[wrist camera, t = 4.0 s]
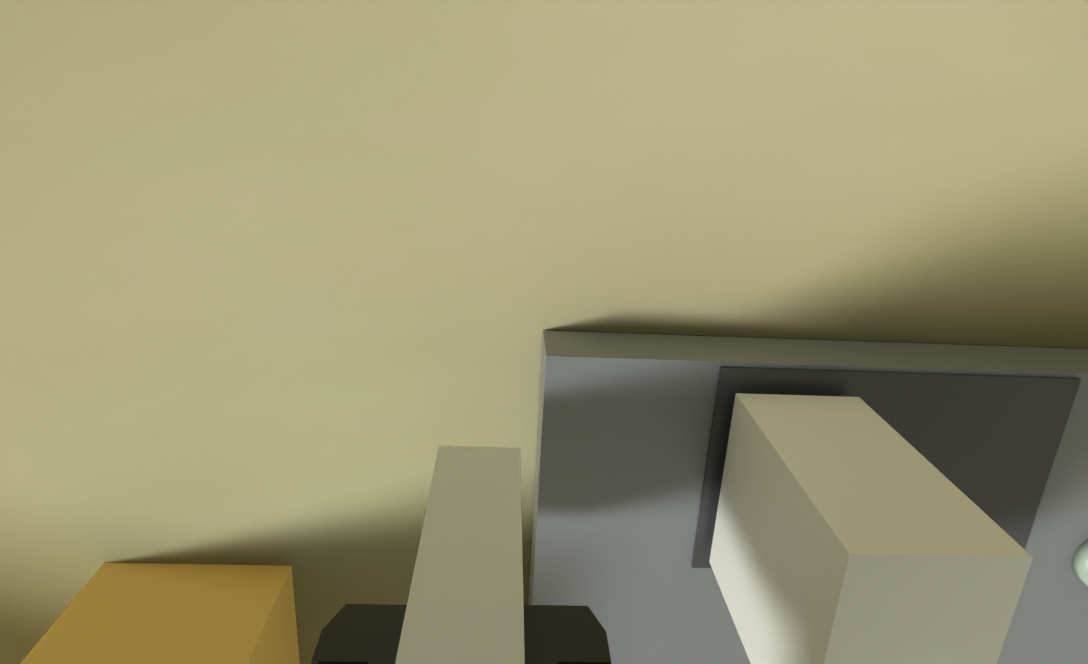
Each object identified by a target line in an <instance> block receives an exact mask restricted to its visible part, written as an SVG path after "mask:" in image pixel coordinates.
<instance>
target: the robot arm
mask: <svg viewBox="0 0 1088 664" xmlns="http://www.w3.org/2000/svg"><path fill="white" fill-rule="evenodd" d="M312 664H611V657H610V651H609V645H608V639H607V633H606V631H605V629H604V628H603V627H602V625H601V624H600V622H599V621H598V619H597V618H596V617H595V615H594V614H593V612H592V611H591V610H590V608H589V607H588V606H567V605H523V556H522V507H521V458H520V448H497V447H463V446H439V448H438V453H437V458H436V463H435V468H434V473H433V478H432V483H431V488H430V493H429V498H428V503H427V508H426V513H425V518H424V523H423V528H422V533H421V538H420V543H419V547H418V552H417V557H416V562H415V567H414V572H413V577H412V582H411V587H410V592H409V597H408V602H407V605H367V604H346V605H345V606H344V607H343V608H342V609H341V610H340V611H339V612H338V614H337V615H336V616H335V617H334V618H333V619H332V620H331V621H330V622H329V623H328V625H327V626H326V627H325V628H324V629H323V630H322V633H321V636H320V638H319V641H318V644H317V647H316V650H315V653H314V656H313V659H312Z"/></svg>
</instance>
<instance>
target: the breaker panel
mask: <svg viewBox="0 0 1088 664" xmlns="http://www.w3.org/2000/svg"><path fill="white" fill-rule="evenodd" d="M736 393H744V394H777V395H811V396H845V397H860V398H861V399H862V400H863V401H864V402H865V403H866V404H867V405H868V406H869V407H870V408H872V409H873V410H874V411H875V412H876V413H877V414H878V415H879V416H880V417H881V418H882V419H883V420H885V421H886V422H887V423H888V424H889V425H890V426H891V427H892V428H893V429H894V430H895V431H896V432H898V433H899V434H900V435H901V436H902V437H903V438H904V439H905V440H906V441H907V442H908V443H909V444H911V445H912V446H913V447H914V448H915V449H916V450H917V451H918V452H919V453H920V454H921V455H923V456H924V457H925V458H926V459H927V460H928V461H929V462H930V463H931V464H932V465H933V466H934V467H936V468H937V469H938V470H939V471H940V472H941V473H942V474H943V475H944V476H945V477H946V478H947V479H949V480H950V481H951V482H952V483H953V484H954V485H955V486H956V487H957V488H958V489H959V490H961V491H962V492H963V493H964V494H965V495H966V496H967V497H968V498H969V499H970V500H971V501H972V502H974V503H975V504H976V505H977V506H978V507H979V508H980V509H981V510H982V511H983V512H984V513H985V514H987V515H988V516H989V517H990V518H991V519H992V520H993V521H994V522H995V523H996V524H997V525H998V526H1000V527H1001V528H1002V529H1003V530H1004V531H1005V532H1006V533H1007V534H1008V535H1009V536H1010V537H1012V538H1013V539H1014V540H1015V541H1016V542H1017V543H1018V544H1019V545H1020V546H1021V547H1022V548H1023V549H1025V550H1026V551H1027V552H1028V553H1029V554H1030V555H1031V556H1032V557H1033V559H1032V562H1031V565H1030V568H1029V571H1028V574H1027V577H1026V580H1025V582H1024V585H1023V588H1022V591H1021V594H1020V597H1019V600H1018V603H1017V606H1016V609H1015V612H1014V615H1013V618H1012V620H1011V623H1010V626H1009V629H1008V632H1007V635H1006V638H1005V641H1004V644H1003V647H1002V650H1001V653H1000V656H999V658H998V661H997V664H1088V349H1070V348H1041V347H1012V346H983V345H954V344H924V343H895V342H866V341H837V340H808V339H779V338H750V337H720V336H691V335H662V334H633V333H604V332H575V331H546V330H543V343H542V361H541V379H540V398H539V416H538V435H537V453H536V472H535V490H534V508H533V527H532V545H531V564H530V582H529V600H528V605H567V606H588V607H589V608H590V610H591V611H592V612H593V614H594V615H595V617H596V618H597V619H598V621H599V622H600V624H601V625H602V627H603V628H604V629H605V631H606V633H607V639H608V645H609V651H610V657H611V664H751V663H750V661H749V658H748V656H747V653H746V651H745V649H744V646H743V644H742V641H741V639H740V636H739V634H738V631H737V629H736V626H735V624H734V621H733V619H732V617H731V614H730V612H729V609H728V607H727V604H726V602H725V599H724V597H723V594H722V592H721V590H720V587H719V585H718V582H717V580H716V577H715V575H714V572H713V570H712V567H711V565H710V562H709V560H710V554H711V547H712V541H713V534H714V528H715V522H716V515H717V509H718V503H719V496H720V490H721V483H722V477H723V471H724V464H725V458H726V452H727V445H728V439H729V432H730V426H731V420H732V413H733V407H734V401H735V394H736Z"/></svg>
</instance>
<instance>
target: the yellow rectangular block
mask: <svg viewBox="0 0 1088 664" xmlns="http://www.w3.org/2000/svg"><path fill="white" fill-rule="evenodd" d="M20 664H300V659H299V647H298V635H297V623H296V611H295V599H294V587H293V575H292V565H227V564H160V563H104V564H103V565H102V566H101V568H100V569H99V570H98V571H97V572H96V574H95V575H94V576H93V577H92V578H91V579H90V581H89V582H88V583H87V584H86V585H85V587H84V588H83V589H82V590H81V591H80V593H79V594H78V595H77V596H76V597H75V598H74V600H73V601H72V602H71V603H70V604H69V606H68V607H67V608H66V609H65V610H64V612H63V613H62V614H61V615H60V616H59V618H58V619H57V620H56V621H55V622H54V623H53V625H52V626H51V627H50V628H49V629H48V631H47V632H46V633H45V634H44V635H43V637H42V638H41V639H40V640H39V641H38V643H37V644H36V645H35V646H34V647H33V648H32V650H31V651H30V652H29V653H28V654H27V656H26V657H25V658H24V659H23V660H22V662H21V663H20Z"/></svg>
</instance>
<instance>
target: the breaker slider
mask: <svg viewBox="0 0 1088 664" xmlns="http://www.w3.org/2000/svg"><path fill="white" fill-rule="evenodd" d="M1032 559H1033V557H1032V556H1031V555H1030V554H1029V553H1028V552H1027V551H1026V550H1025V549H1023V548H1022V547H1021V546H1020V545H1019V544H1018V543H1017V542H1016V541H1015V540H1014V539H1013V538H1012V537H1010V536H1009V535H1008V534H1007V533H1006V532H1005V531H1004V530H1003V529H1002V528H1001V527H1000V526H998V525H997V524H996V523H995V522H994V521H993V520H992V519H991V518H990V517H989V516H988V515H987V514H985V513H984V512H983V511H982V510H981V509H980V508H979V507H978V506H977V505H976V504H975V503H974V502H972V501H971V500H970V499H969V498H968V497H967V496H966V495H965V494H964V493H963V492H962V491H961V490H959V489H958V488H957V487H956V486H955V485H954V484H953V483H952V482H951V481H950V480H949V479H947V478H946V477H945V476H944V475H943V474H942V473H941V472H940V471H939V470H938V469H937V468H936V467H934V466H933V465H932V464H931V463H930V462H929V461H928V460H927V459H926V458H925V457H924V456H923V455H921V454H920V453H919V452H918V451H917V450H916V449H915V448H914V447H913V446H912V445H911V444H909V443H908V442H907V441H906V440H905V439H904V438H903V437H902V436H901V435H900V434H899V433H898V432H896V431H895V430H894V429H893V428H892V427H891V426H890V425H889V424H888V423H887V422H886V421H885V420H883V419H882V418H881V417H880V416H879V415H878V414H877V413H876V412H875V411H874V410H873V409H872V408H870V407H869V406H868V405H867V404H866V403H865V402H864V401H863V400H862V399H861V398H860V397H845V396H811V395H777V394H744V393H736V394H735V401H734V407H733V413H732V420H731V426H730V432H729V439H728V445H727V452H726V458H725V464H724V471H723V477H722V483H721V490H720V496H719V503H718V509H717V515H716V522H715V528H714V534H713V541H712V547H711V554H710V560H709V562H710V565H711V567H712V570H713V572H714V575H715V577H716V580H717V582H718V585H719V587H720V590H721V592H722V594H723V597H724V599H725V602H726V604H727V607H728V609H729V612H730V614H731V617H732V619H733V621H734V624H735V626H736V629H737V631H738V634H739V636H740V639H741V641H742V644H743V646H744V649H745V651H746V653H747V656H748V658H749V661H750V663H751V664H997V661H998V658H999V656H1000V653H1001V650H1002V647H1003V644H1004V641H1005V638H1006V635H1007V632H1008V629H1009V626H1010V623H1011V620H1012V618H1013V615H1014V612H1015V609H1016V606H1017V603H1018V600H1019V597H1020V594H1021V591H1022V588H1023V585H1024V582H1025V580H1026V577H1027V574H1028V571H1029V568H1030V565H1031V562H1032Z"/></svg>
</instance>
